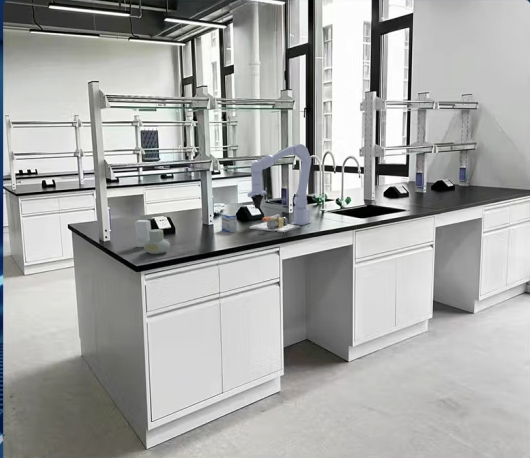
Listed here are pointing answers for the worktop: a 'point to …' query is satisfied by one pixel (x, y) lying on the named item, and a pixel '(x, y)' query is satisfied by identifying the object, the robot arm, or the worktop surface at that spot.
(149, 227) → the skincare box
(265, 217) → the lever
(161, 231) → the air freshener
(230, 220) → the medicine box
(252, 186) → the robot arm
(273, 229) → the valve rig
